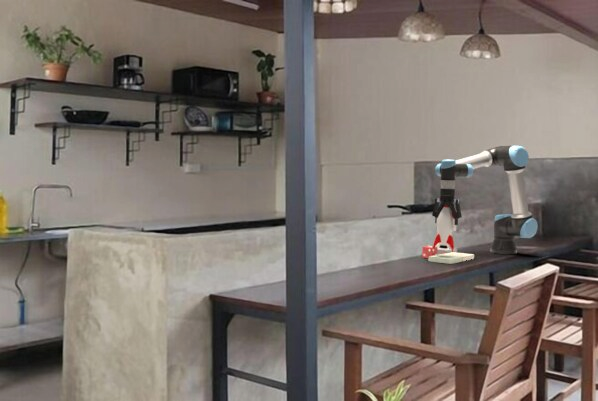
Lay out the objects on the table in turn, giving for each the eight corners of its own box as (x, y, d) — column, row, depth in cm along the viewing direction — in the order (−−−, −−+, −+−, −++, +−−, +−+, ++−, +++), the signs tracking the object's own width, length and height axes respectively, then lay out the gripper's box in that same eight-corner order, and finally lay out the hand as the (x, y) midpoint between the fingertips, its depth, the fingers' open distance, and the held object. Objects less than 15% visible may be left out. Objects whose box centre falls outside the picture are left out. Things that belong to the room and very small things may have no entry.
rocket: (452, 252, 337) (457, 205, 335) (432, 249, 340) (436, 203, 338) (453, 249, 348) (457, 203, 346) (433, 247, 351) (437, 202, 349)
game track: (452, 256, 363) (452, 252, 363) (474, 259, 354) (474, 254, 354) (428, 261, 343) (428, 256, 343) (450, 264, 334) (450, 259, 334)
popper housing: (438, 253, 375) (438, 246, 375) (456, 255, 367) (456, 248, 367) (427, 255, 366) (427, 248, 366) (446, 257, 358) (446, 250, 358)
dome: (439, 252, 372) (440, 239, 371) (450, 253, 367) (451, 240, 367) (433, 253, 366) (433, 240, 366) (444, 254, 362) (445, 241, 361)
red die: (427, 256, 361) (428, 244, 360) (438, 257, 356) (438, 246, 356) (421, 257, 356) (421, 245, 355) (432, 258, 351) (432, 247, 351)
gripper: (426, 187, 345) (424, 229, 347) (462, 189, 331) (461, 232, 332) (433, 187, 351) (431, 228, 352) (469, 189, 337) (468, 231, 338)
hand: (446, 230), depth 342 cm, fingers open, 9 cm apart
